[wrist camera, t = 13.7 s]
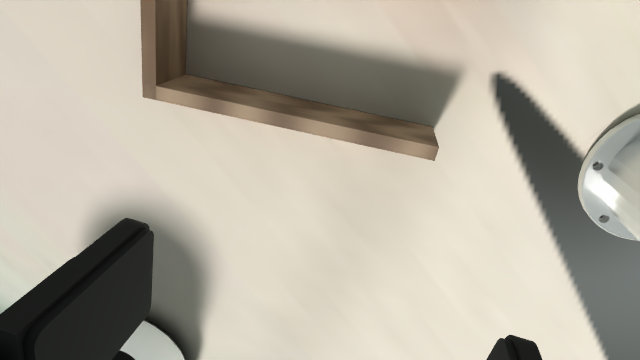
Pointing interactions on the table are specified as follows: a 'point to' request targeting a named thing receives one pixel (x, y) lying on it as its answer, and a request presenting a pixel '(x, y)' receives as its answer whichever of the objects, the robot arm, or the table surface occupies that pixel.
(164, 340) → the milk container
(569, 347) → the table surface
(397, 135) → the angular wooden frame
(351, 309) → the table surface
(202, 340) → the table surface
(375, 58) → the table surface
